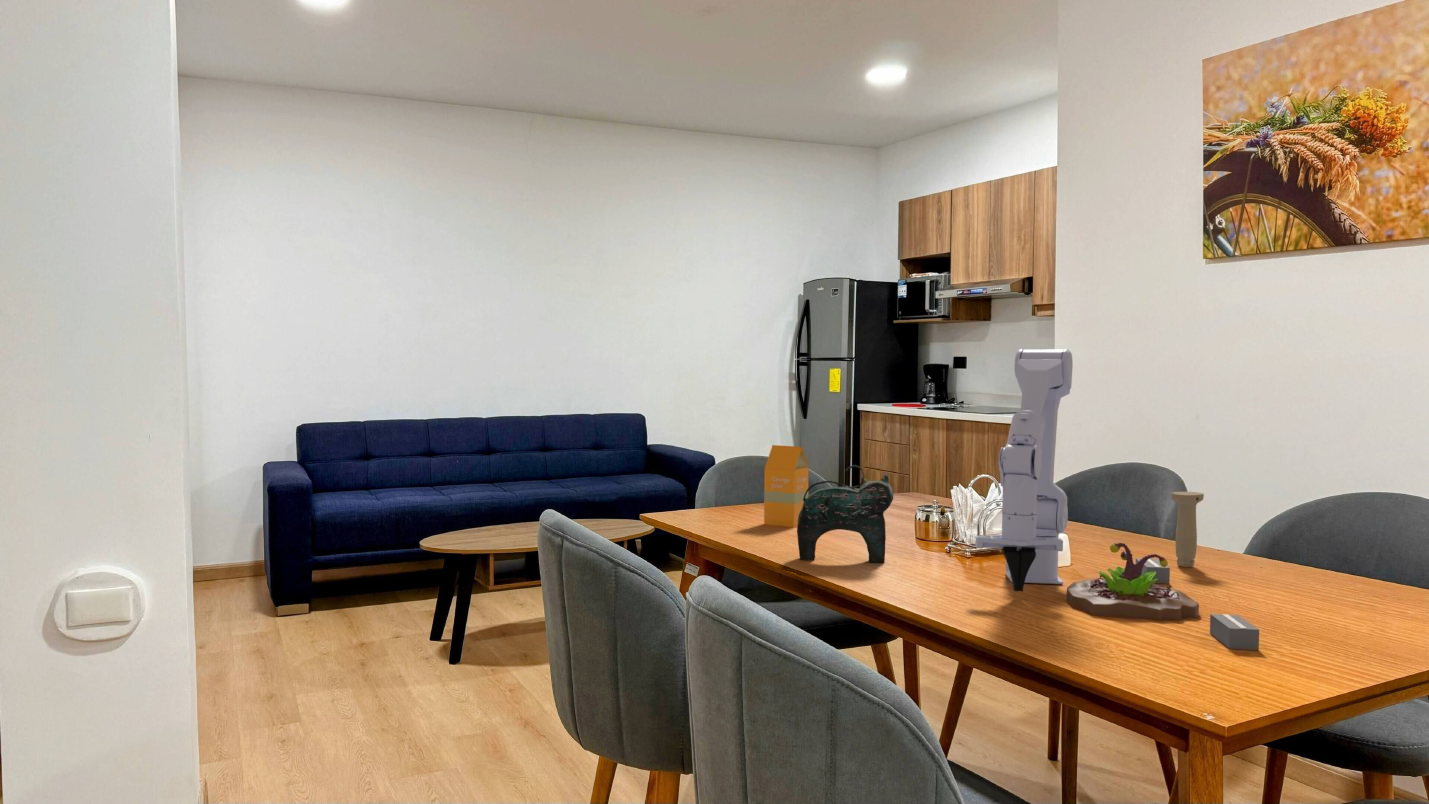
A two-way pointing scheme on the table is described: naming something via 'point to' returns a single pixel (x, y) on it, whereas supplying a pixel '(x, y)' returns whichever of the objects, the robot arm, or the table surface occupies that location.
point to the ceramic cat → (846, 515)
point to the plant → (1131, 593)
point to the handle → (1186, 526)
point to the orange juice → (785, 485)
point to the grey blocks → (1215, 617)
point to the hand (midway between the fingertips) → (1017, 589)
